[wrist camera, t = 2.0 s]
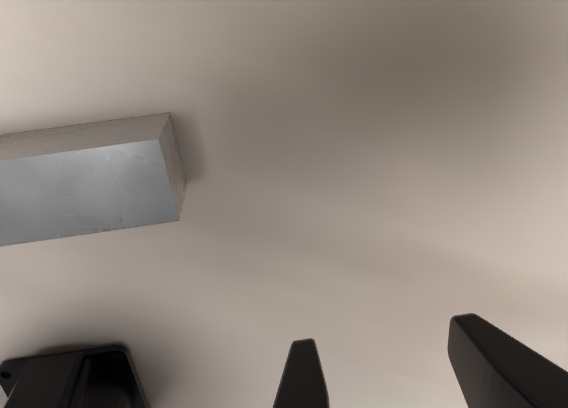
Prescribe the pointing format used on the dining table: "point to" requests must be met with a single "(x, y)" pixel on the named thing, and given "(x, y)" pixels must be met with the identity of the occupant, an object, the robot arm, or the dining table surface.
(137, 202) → the long grey bar
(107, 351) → the robot arm
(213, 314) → the dining table surface
